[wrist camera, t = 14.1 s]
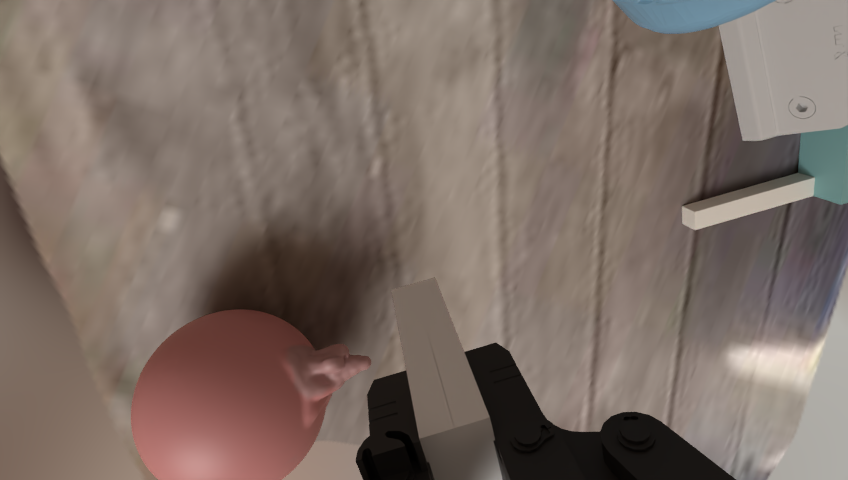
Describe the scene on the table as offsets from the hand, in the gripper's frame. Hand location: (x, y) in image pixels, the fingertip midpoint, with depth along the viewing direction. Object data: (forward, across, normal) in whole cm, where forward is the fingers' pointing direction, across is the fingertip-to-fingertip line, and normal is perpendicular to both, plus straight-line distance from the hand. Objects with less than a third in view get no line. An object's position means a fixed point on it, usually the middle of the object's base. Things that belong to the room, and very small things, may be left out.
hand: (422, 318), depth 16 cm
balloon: (+30, -15, -16) cm, 37 cm away
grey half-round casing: (+30, +38, 0) cm, 48 cm away
